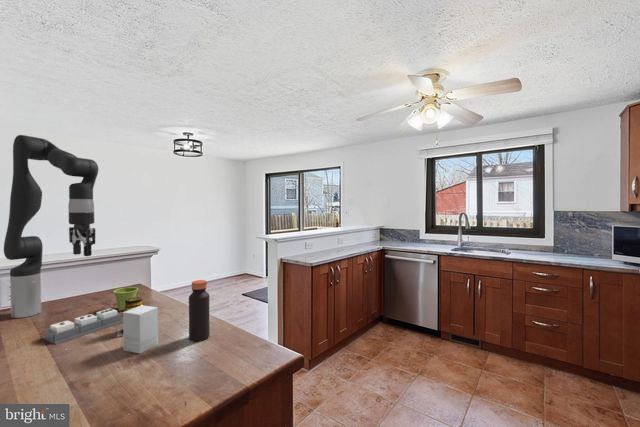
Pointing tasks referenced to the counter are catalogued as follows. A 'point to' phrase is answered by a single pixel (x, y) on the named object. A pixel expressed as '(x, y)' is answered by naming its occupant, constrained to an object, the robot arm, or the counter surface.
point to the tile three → (106, 313)
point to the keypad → (82, 329)
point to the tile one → (61, 326)
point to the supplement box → (140, 329)
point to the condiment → (130, 305)
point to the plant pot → (124, 296)
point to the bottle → (199, 311)
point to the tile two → (85, 319)
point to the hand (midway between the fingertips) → (82, 255)
